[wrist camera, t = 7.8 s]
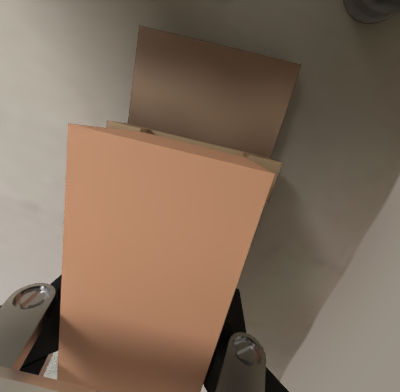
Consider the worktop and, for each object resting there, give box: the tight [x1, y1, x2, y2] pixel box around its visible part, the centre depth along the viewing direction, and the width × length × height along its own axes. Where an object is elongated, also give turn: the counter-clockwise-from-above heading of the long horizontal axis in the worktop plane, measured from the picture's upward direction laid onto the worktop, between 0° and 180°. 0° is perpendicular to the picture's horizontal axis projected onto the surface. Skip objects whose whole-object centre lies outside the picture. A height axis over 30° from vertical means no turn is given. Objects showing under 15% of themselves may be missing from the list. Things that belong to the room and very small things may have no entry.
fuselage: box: [57, 124, 275, 392], centre depth 9 cm, size 14×5×5 cm, turn 167°
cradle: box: [107, 25, 301, 203], centre depth 16 cm, size 26×11×5 cm, turn 167°
